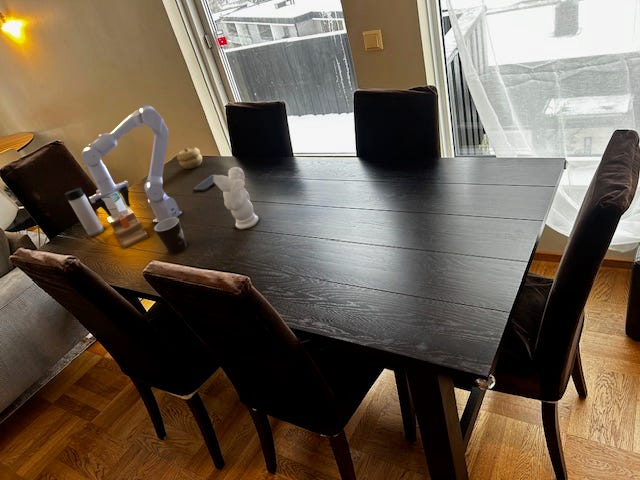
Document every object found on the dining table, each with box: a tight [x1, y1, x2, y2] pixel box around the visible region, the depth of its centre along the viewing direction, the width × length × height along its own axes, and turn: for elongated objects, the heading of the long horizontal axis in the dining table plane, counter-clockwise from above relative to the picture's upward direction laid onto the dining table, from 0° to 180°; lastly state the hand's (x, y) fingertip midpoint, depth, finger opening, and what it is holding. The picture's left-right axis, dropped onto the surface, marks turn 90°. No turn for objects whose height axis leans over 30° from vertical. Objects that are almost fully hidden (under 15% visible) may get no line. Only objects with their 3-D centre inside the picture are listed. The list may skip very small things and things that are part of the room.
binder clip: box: [118, 213, 130, 229], centre depth 173 cm, size 4×2×5 cm, turn 34°
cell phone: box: [193, 174, 221, 191], centre depth 203 cm, size 7×14×1 cm, turn 150°
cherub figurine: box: [213, 166, 259, 230], centre depth 155 cm, size 12×12×22 cm
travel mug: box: [64, 187, 105, 237], centre depth 181 cm, size 6×7×20 cm
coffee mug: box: [153, 217, 188, 255], centre depth 156 cm, size 12×9×10 cm
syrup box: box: [95, 182, 129, 216], centre depth 191 cm, size 6×6×14 cm
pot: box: [176, 147, 203, 170], centre depth 225 cm, size 12×12×10 cm
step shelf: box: [106, 207, 149, 249], centre depth 175 cm, size 20×10×6 cm, turn 34°
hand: (119, 210), depth 173 cm, fingers open, 7 cm apart
